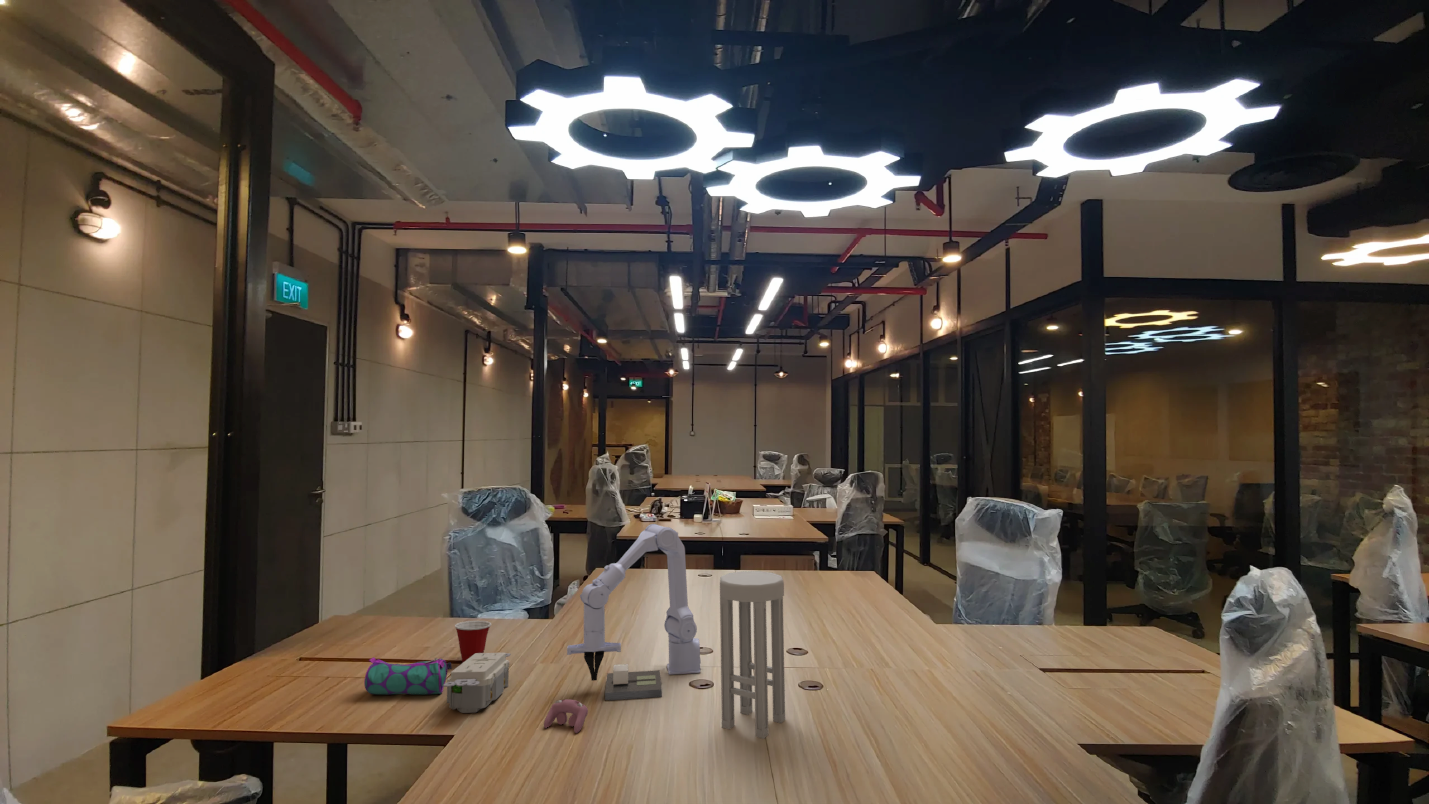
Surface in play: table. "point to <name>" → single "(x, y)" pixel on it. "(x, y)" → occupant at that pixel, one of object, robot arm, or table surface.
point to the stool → (758, 591)
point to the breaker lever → (620, 674)
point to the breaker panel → (635, 686)
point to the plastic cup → (472, 637)
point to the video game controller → (565, 707)
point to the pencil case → (406, 677)
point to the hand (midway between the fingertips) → (594, 679)
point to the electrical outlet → (477, 681)
